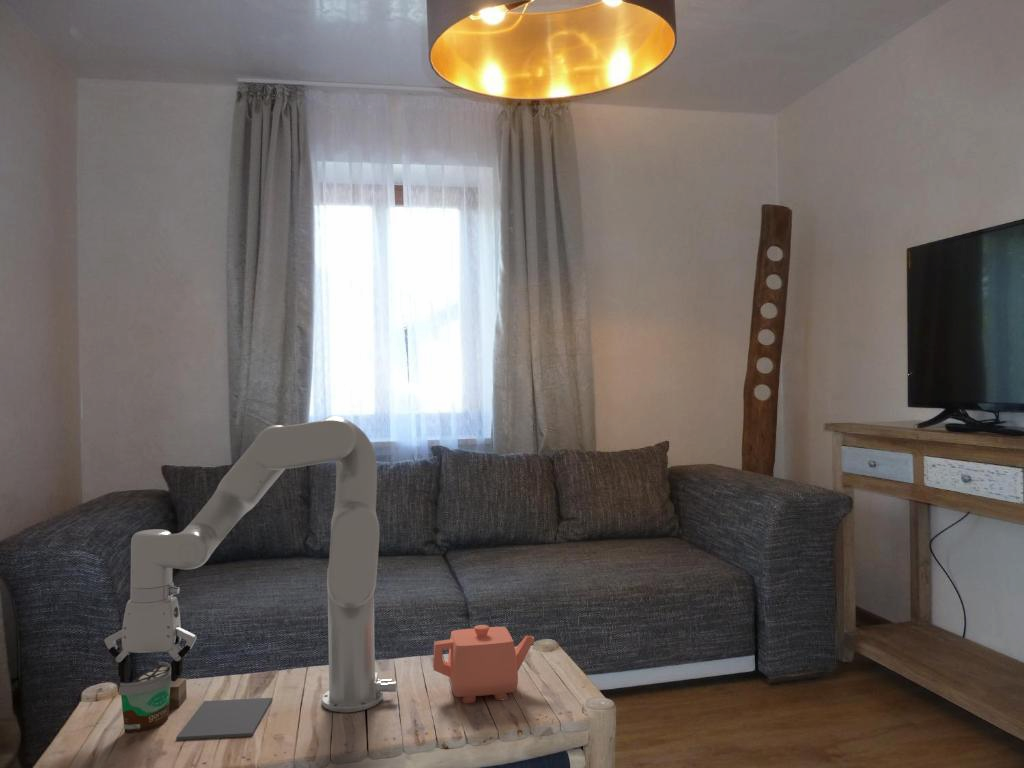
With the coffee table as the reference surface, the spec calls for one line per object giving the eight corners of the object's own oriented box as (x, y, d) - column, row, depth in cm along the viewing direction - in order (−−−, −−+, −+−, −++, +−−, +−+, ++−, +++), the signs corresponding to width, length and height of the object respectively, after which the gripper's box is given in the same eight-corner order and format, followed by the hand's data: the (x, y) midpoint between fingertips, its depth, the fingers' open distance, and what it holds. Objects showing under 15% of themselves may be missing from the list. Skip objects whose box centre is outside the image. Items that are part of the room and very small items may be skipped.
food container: (147, 739, 142) (146, 686, 142) (119, 736, 143) (118, 684, 143) (188, 710, 154) (187, 662, 154) (161, 708, 155) (160, 660, 155)
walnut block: (186, 699, 160) (186, 678, 160) (178, 708, 155) (178, 686, 155) (164, 700, 159) (164, 679, 159) (156, 709, 155) (156, 687, 155)
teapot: (529, 676, 169) (528, 613, 169) (541, 699, 156) (540, 631, 156) (431, 685, 165) (430, 620, 165) (436, 709, 152) (435, 640, 152)
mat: (272, 700, 158) (272, 697, 158) (252, 736, 142) (252, 732, 142) (204, 703, 157) (204, 701, 157) (176, 740, 141) (176, 736, 141)
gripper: (202, 587, 153) (201, 671, 153) (114, 588, 151) (113, 673, 151) (189, 597, 145) (188, 686, 145) (97, 599, 144) (96, 688, 144)
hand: (150, 679), depth 148 cm, fingers open, 9 cm apart
